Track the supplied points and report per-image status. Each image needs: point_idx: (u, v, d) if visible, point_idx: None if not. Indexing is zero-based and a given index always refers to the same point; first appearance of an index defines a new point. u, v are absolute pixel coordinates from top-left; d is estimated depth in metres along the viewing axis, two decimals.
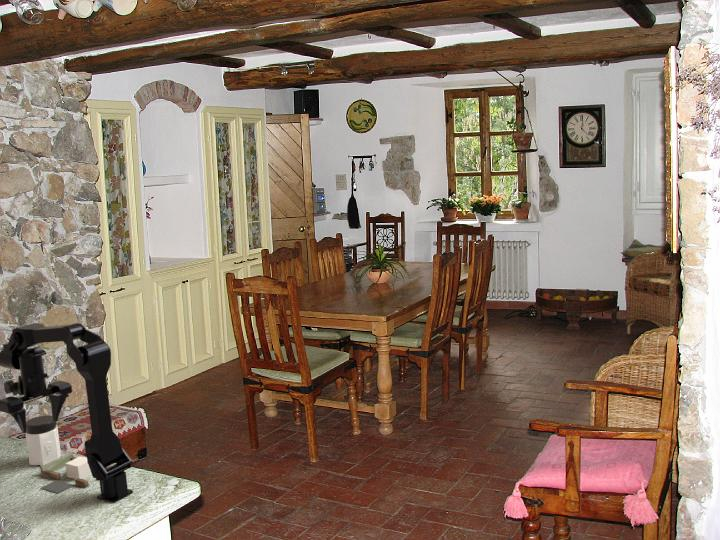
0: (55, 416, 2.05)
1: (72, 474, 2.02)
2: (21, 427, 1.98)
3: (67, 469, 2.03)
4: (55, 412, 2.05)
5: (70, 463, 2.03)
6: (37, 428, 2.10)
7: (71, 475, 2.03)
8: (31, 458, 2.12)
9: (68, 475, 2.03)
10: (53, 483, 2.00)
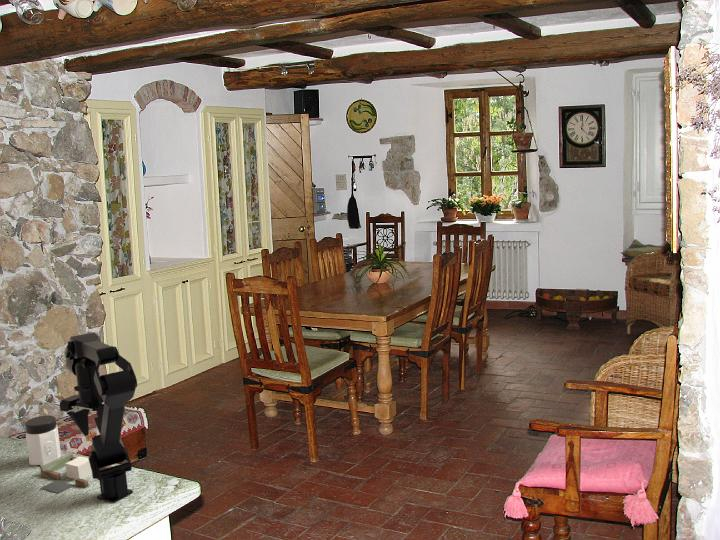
0: None
1: (72, 474, 2.02)
2: None
3: (67, 469, 2.03)
4: None
5: (70, 463, 2.03)
6: (37, 428, 2.10)
7: (71, 475, 2.03)
8: (31, 458, 2.12)
9: (68, 475, 2.03)
10: (53, 483, 2.00)
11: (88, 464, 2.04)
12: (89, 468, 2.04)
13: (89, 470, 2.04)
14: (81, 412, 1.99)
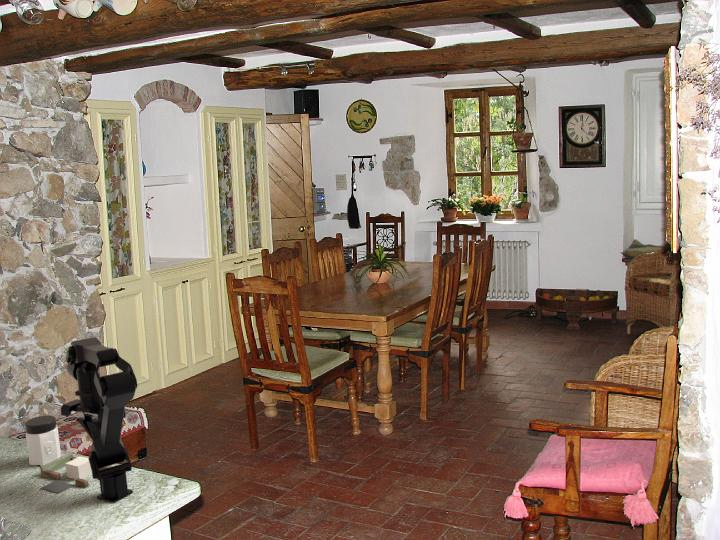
0: None
1: (72, 474, 2.02)
2: None
3: (67, 469, 2.03)
4: None
5: (70, 463, 2.03)
6: (37, 428, 2.10)
7: (71, 475, 2.03)
8: (31, 458, 2.12)
9: (68, 475, 2.03)
10: (53, 483, 2.00)
11: (88, 464, 2.04)
12: (89, 468, 2.04)
13: (89, 470, 2.04)
14: (90, 418, 1.98)
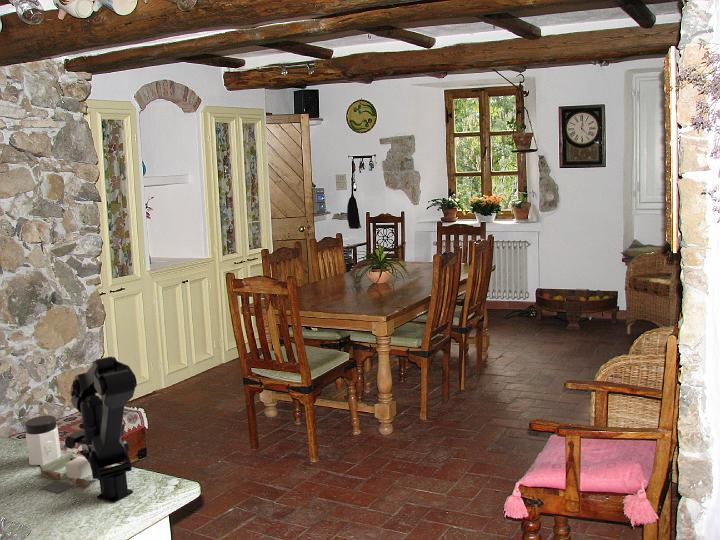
0: None
1: (72, 474, 2.02)
2: None
3: (67, 469, 2.03)
4: None
5: (70, 463, 2.03)
6: (37, 428, 2.10)
7: (71, 475, 2.03)
8: (31, 458, 2.12)
9: (68, 475, 2.03)
10: (53, 483, 2.00)
11: (88, 464, 2.04)
12: (89, 468, 2.04)
13: (89, 470, 2.04)
14: None
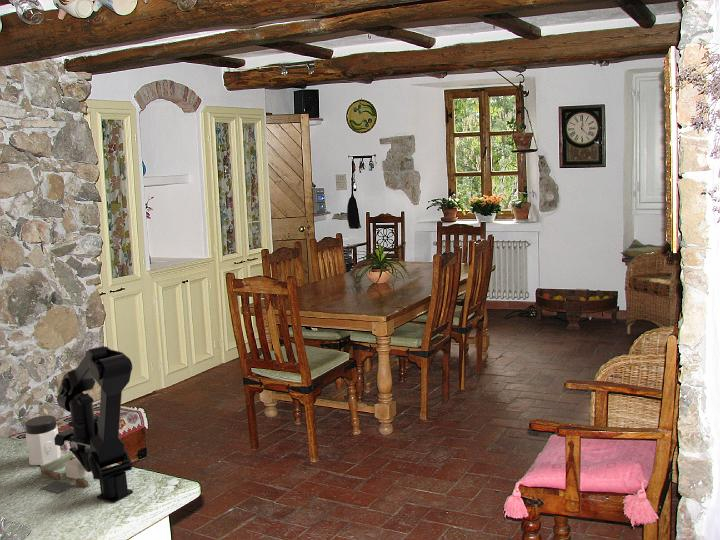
0: None
1: (72, 473, 2.03)
2: None
3: (67, 469, 2.03)
4: None
5: (70, 463, 2.03)
6: (37, 428, 2.10)
7: (71, 475, 2.03)
8: (31, 458, 2.12)
9: (68, 475, 2.04)
10: (53, 483, 2.00)
11: None
12: None
13: None
14: (83, 448, 2.02)
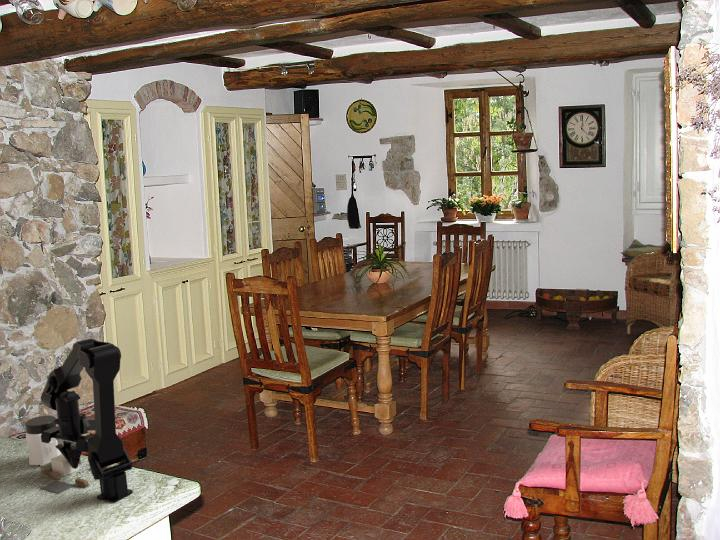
0: None
1: (57, 469, 2.05)
2: None
3: (52, 465, 2.06)
4: None
5: (55, 459, 2.06)
6: (37, 428, 2.10)
7: (56, 471, 2.06)
8: (31, 458, 2.12)
9: None
10: (53, 483, 2.00)
11: None
12: None
13: None
14: (69, 445, 2.04)
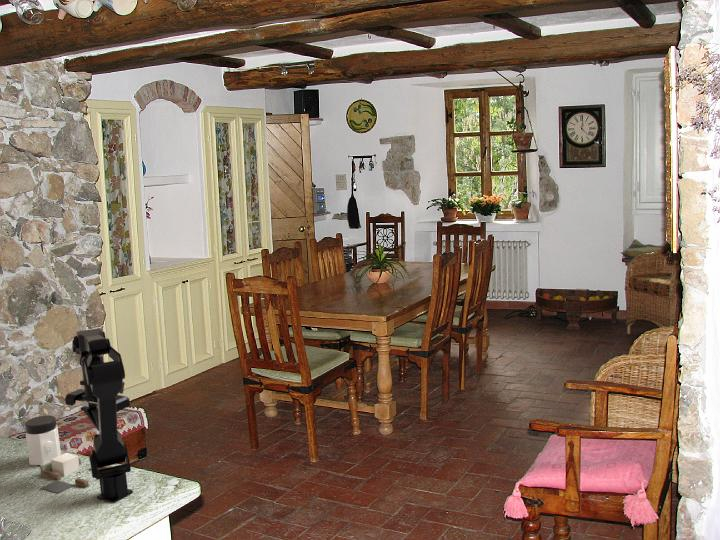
0: None
1: (57, 470, 2.05)
2: None
3: (52, 465, 2.06)
4: None
5: (55, 459, 2.06)
6: (37, 428, 2.10)
7: (56, 471, 2.06)
8: (31, 458, 2.12)
9: None
10: (53, 483, 2.00)
11: (73, 460, 2.07)
12: (74, 464, 2.07)
13: (74, 466, 2.07)
14: (95, 407, 2.02)
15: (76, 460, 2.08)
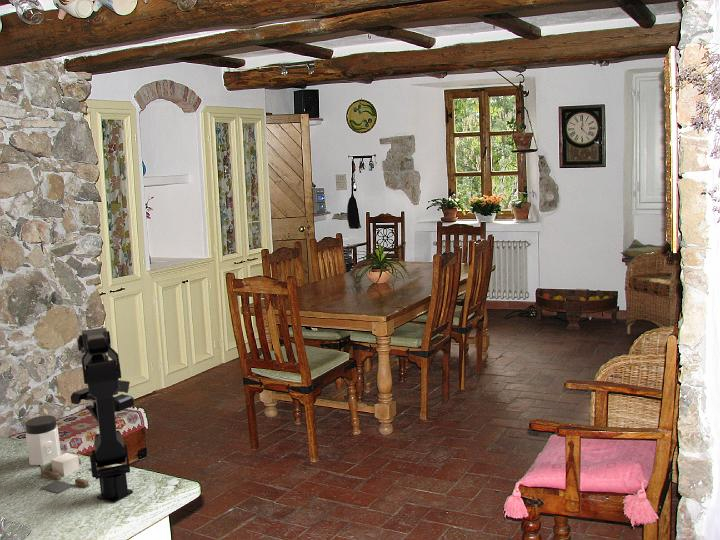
0: None
1: (57, 470, 2.05)
2: None
3: (52, 465, 2.06)
4: None
5: (55, 459, 2.06)
6: (37, 428, 2.10)
7: (56, 471, 2.06)
8: (31, 458, 2.12)
9: None
10: (53, 483, 2.00)
11: (73, 460, 2.07)
12: (74, 464, 2.07)
13: (74, 466, 2.07)
14: None
15: (76, 460, 2.08)
